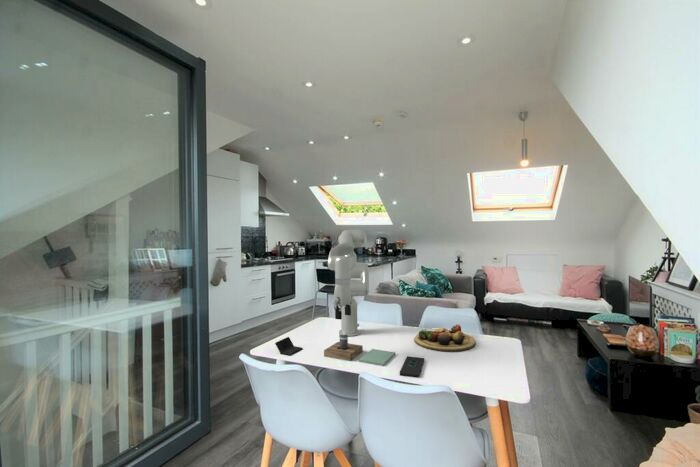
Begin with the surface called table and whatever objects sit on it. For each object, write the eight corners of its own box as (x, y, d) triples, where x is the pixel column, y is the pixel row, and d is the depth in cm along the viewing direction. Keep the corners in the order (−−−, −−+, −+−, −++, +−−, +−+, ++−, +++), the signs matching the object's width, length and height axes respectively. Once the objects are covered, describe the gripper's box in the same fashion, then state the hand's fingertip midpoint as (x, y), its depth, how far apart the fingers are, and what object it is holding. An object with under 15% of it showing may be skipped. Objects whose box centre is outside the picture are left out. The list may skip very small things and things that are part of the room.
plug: (342, 352, 164) (341, 333, 164) (349, 353, 162) (349, 334, 162) (338, 354, 161) (337, 336, 161) (345, 356, 159) (345, 337, 159)
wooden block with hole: (338, 347, 171) (338, 341, 171) (362, 351, 165) (362, 345, 165) (324, 356, 158) (324, 350, 158) (350, 361, 152) (350, 354, 152)
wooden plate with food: (446, 331, 199) (446, 317, 200) (489, 346, 171) (488, 330, 171) (402, 339, 186) (402, 325, 186) (441, 357, 157) (440, 340, 157)
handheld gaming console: (293, 353, 159) (283, 335, 162) (282, 361, 160) (272, 343, 163) (304, 348, 170) (294, 332, 173) (293, 356, 171) (284, 340, 174)
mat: (372, 350, 165) (372, 348, 165) (395, 354, 160) (395, 352, 160) (358, 361, 151) (358, 359, 151) (383, 366, 146) (383, 363, 146)
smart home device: (424, 357, 152) (419, 374, 133) (424, 361, 152) (419, 379, 133) (406, 355, 155) (398, 372, 136) (406, 359, 155) (398, 376, 136)
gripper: (344, 279, 171) (344, 313, 171) (327, 283, 156) (327, 320, 155) (357, 280, 168) (357, 314, 167) (341, 284, 152) (341, 321, 152)
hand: (343, 317), depth 161 cm, fingers open, 9 cm apart
